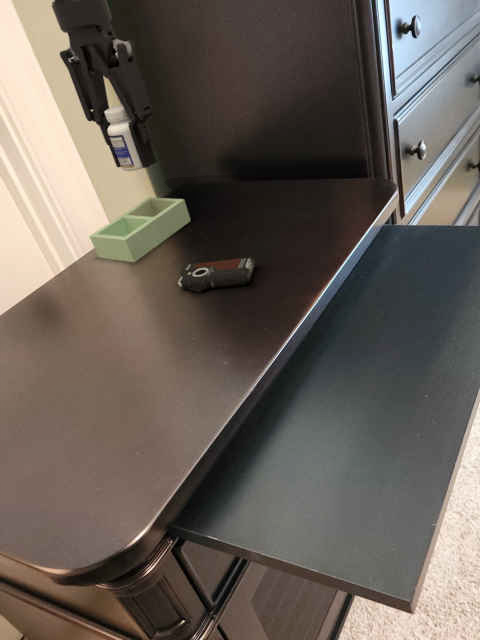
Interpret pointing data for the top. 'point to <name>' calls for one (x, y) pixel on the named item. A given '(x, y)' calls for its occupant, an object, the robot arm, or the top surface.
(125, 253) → the divided box
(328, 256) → the top surface
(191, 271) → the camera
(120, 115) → the pill bottle
